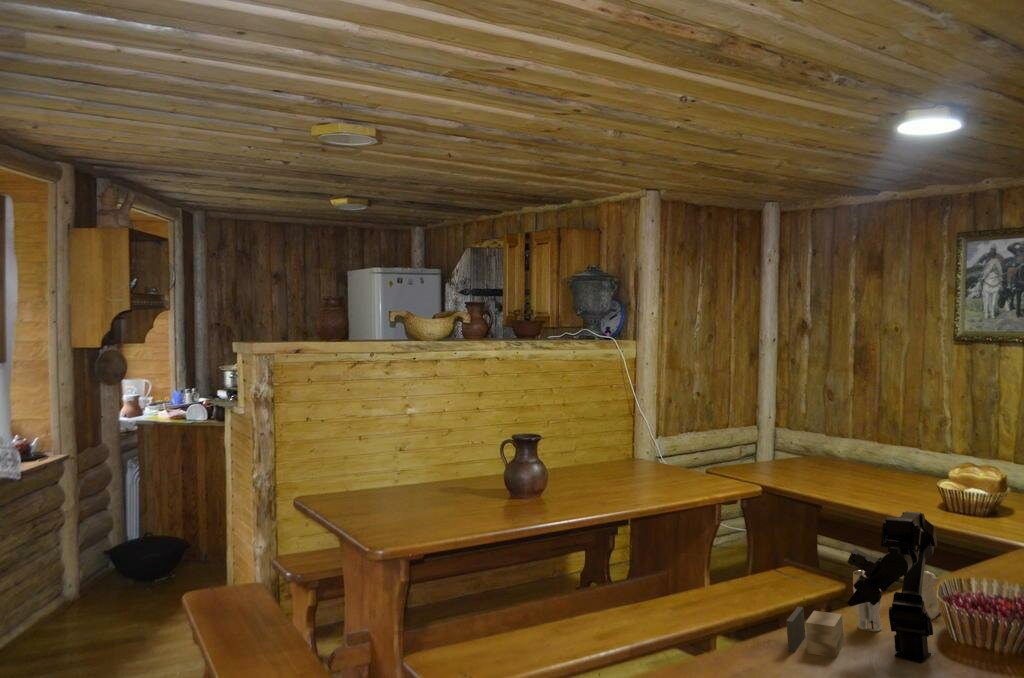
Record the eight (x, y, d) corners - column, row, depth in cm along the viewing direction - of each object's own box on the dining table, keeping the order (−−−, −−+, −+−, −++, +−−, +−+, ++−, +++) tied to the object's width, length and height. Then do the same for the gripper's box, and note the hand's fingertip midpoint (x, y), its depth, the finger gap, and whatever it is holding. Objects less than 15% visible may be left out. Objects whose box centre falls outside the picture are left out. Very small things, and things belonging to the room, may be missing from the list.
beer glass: (888, 627, 206) (884, 573, 207) (875, 634, 203) (870, 578, 203) (864, 621, 212) (861, 568, 213) (850, 627, 208) (846, 573, 209)
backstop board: (805, 636, 204) (803, 607, 204) (794, 652, 194) (792, 621, 194) (799, 635, 205) (797, 606, 205) (788, 651, 195) (786, 620, 195)
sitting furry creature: (902, 610, 219) (898, 569, 219) (923, 605, 222) (920, 564, 222) (930, 620, 210) (927, 577, 210) (952, 615, 213) (949, 572, 213)
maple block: (844, 644, 197) (841, 614, 198) (836, 658, 190) (834, 626, 190) (816, 640, 201) (814, 610, 201) (807, 653, 193) (805, 622, 194)
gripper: (873, 532, 197) (831, 570, 203) (860, 547, 182) (815, 588, 187) (909, 566, 192) (865, 604, 198) (898, 584, 177) (851, 625, 182)
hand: (848, 604), depth 191 cm, fingers closed
